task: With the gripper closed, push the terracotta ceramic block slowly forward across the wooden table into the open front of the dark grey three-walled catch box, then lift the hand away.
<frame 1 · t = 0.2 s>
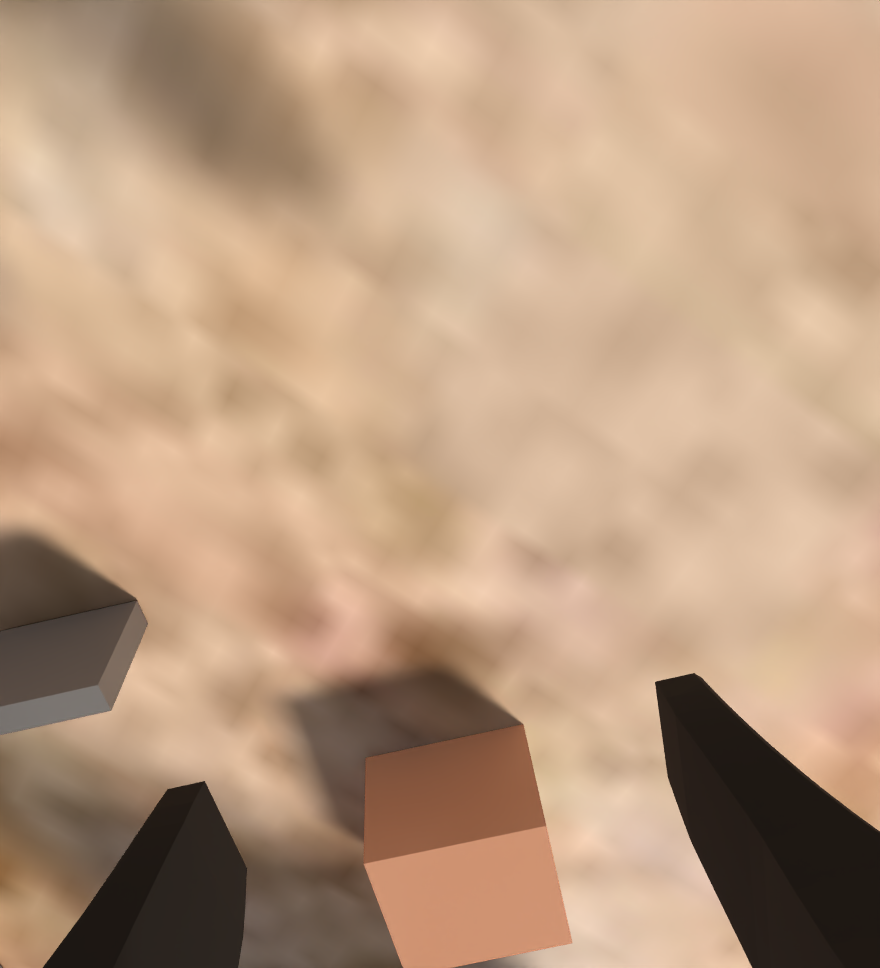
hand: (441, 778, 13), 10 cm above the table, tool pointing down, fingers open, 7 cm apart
terracotta block: (459, 794, 27), on the table
catch box: (91, 877, 27), on the table
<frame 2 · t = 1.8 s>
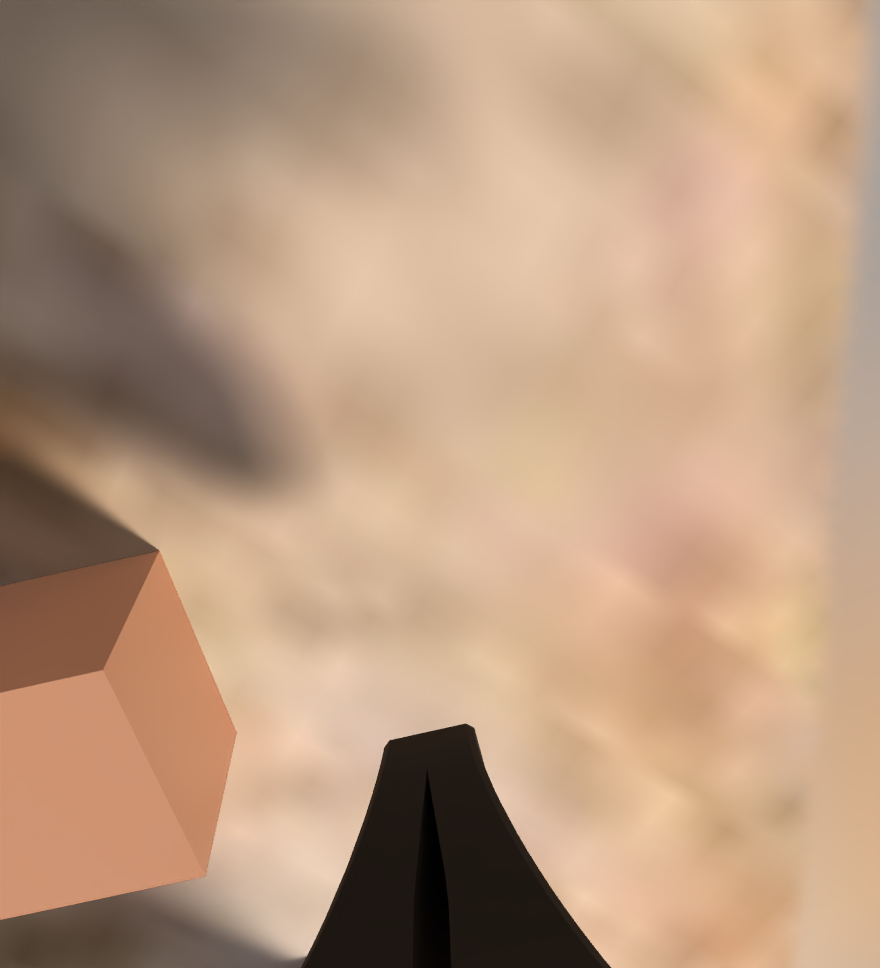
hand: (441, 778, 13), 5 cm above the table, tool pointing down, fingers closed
terracotta block: (91, 667, 18), on the table
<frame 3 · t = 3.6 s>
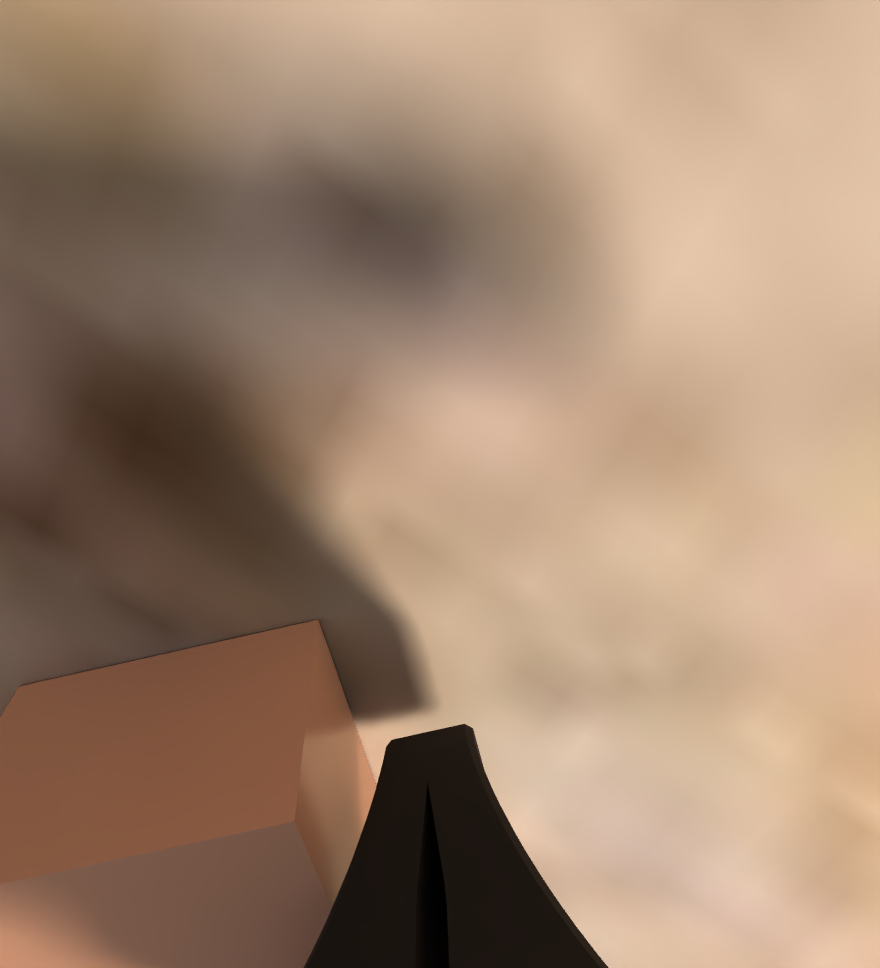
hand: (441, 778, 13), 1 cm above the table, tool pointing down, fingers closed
terracotta block: (219, 765, 14), on the table, touching gripper
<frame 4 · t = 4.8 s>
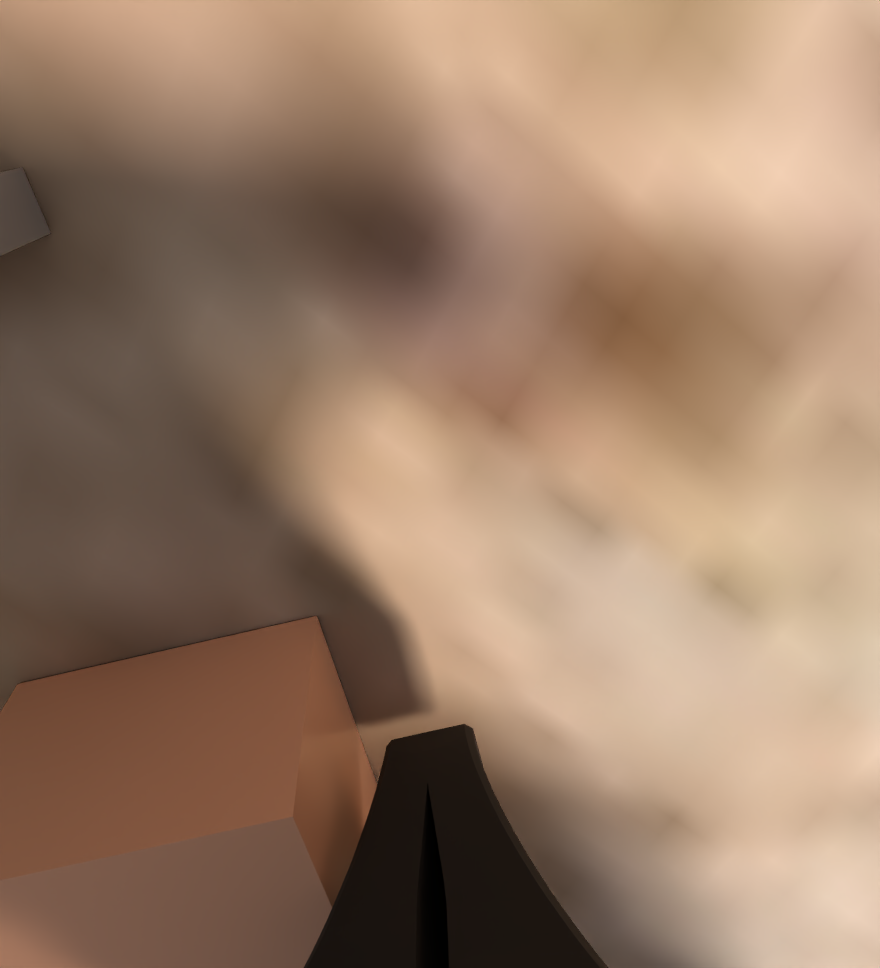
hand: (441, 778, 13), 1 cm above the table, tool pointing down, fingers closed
terracotta block: (218, 762, 14), on the table, touching gripper
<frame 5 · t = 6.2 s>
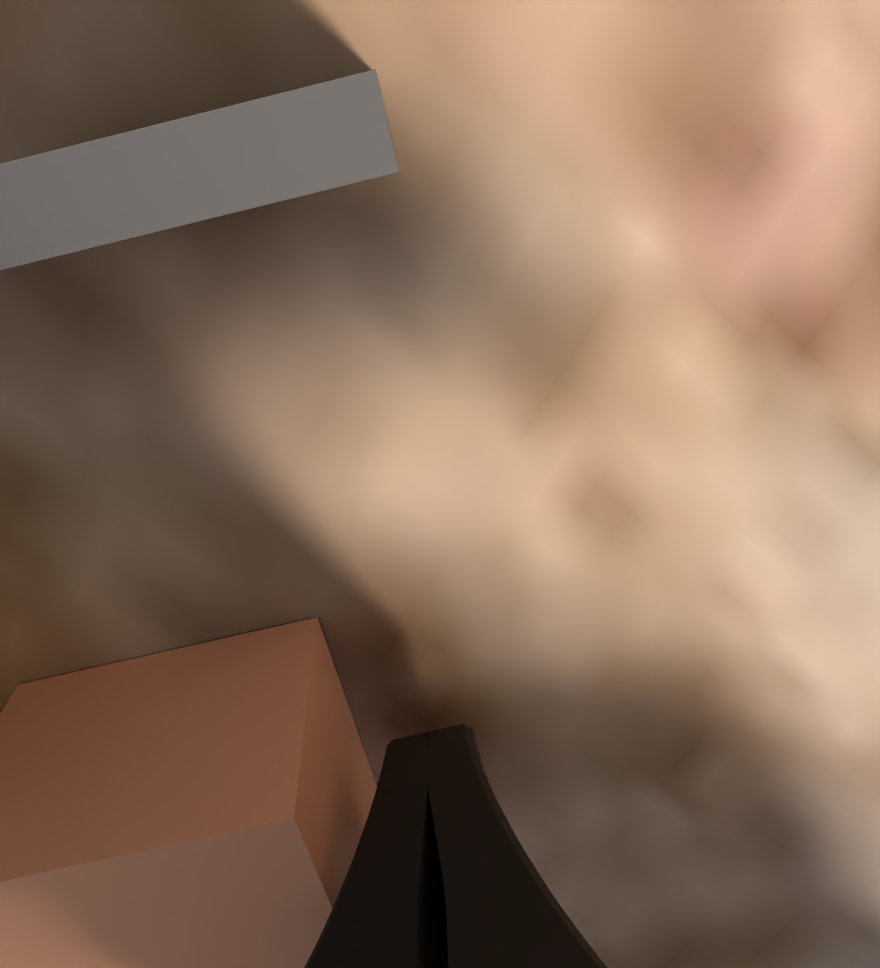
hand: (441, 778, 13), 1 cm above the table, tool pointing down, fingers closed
terracotta block: (218, 763, 14), on the table, touching gripper
catch box: (216, 765, 14), on the table
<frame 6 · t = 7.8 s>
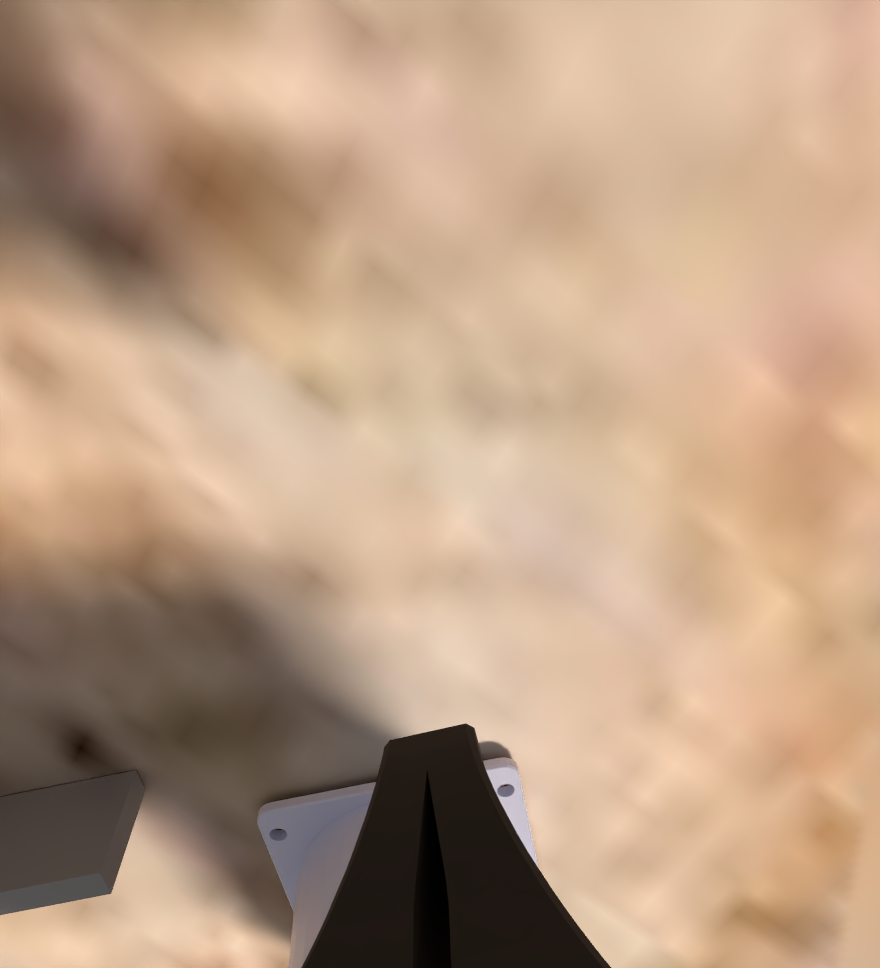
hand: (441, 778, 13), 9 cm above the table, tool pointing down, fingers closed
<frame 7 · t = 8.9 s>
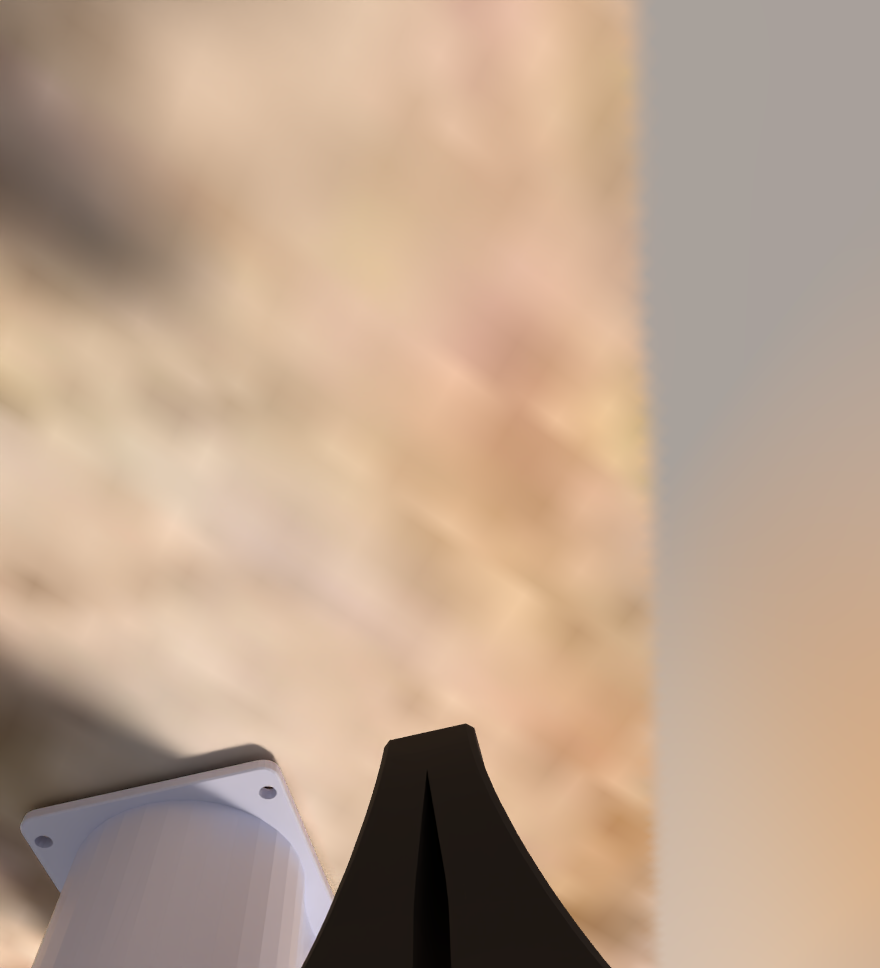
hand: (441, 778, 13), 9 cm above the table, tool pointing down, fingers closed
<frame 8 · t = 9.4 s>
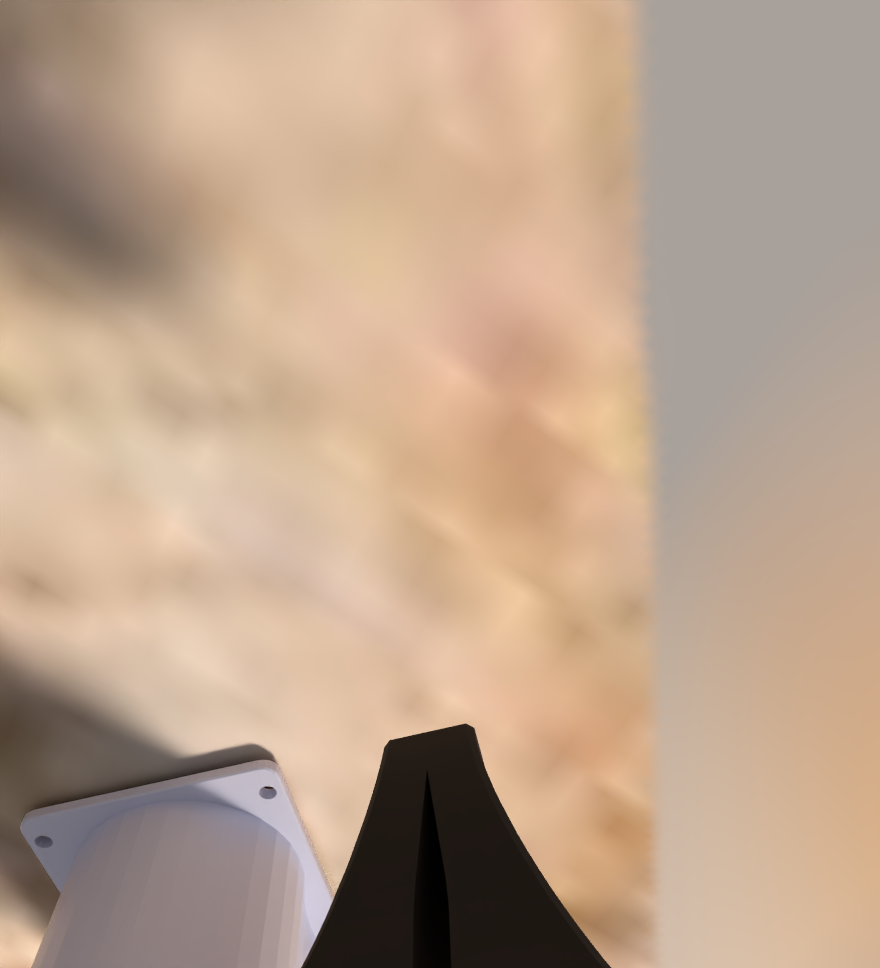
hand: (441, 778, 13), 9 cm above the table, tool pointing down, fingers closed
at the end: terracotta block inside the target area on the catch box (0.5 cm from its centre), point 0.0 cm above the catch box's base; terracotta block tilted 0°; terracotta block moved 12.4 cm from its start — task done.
